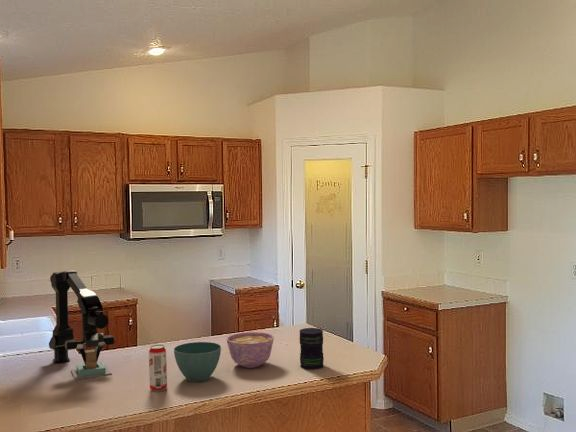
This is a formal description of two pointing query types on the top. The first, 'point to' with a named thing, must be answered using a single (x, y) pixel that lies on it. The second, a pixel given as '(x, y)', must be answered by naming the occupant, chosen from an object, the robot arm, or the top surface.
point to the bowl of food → (250, 348)
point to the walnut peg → (90, 359)
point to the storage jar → (311, 348)
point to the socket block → (90, 371)
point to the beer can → (157, 368)
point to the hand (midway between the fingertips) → (90, 363)
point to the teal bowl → (197, 359)
